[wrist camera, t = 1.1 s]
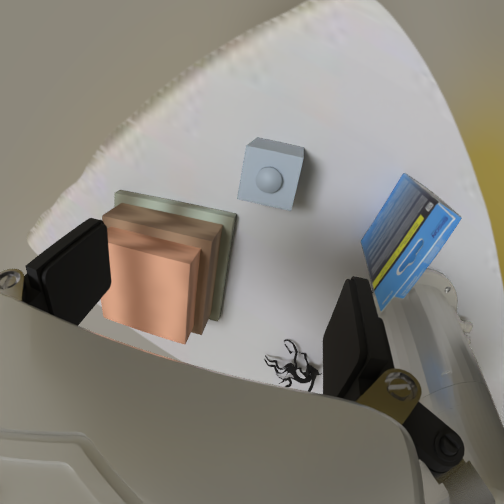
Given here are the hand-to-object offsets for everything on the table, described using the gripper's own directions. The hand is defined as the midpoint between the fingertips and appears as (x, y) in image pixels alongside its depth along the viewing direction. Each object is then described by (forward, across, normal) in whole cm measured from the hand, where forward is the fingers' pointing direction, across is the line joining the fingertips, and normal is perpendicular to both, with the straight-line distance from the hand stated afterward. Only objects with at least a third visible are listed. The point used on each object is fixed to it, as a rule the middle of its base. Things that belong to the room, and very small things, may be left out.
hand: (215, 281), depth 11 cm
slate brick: (+21, 0, 0) cm, 21 cm away
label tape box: (+21, -13, +2) cm, 25 cm away
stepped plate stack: (+21, +10, +13) cm, 26 cm away
